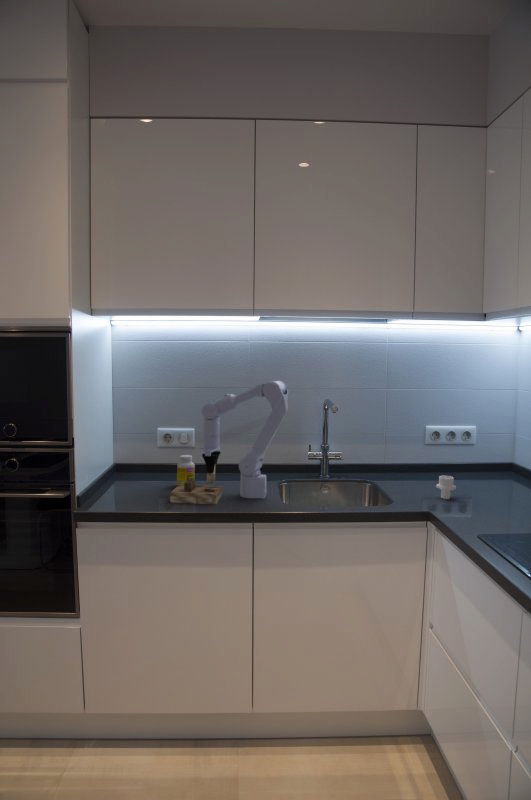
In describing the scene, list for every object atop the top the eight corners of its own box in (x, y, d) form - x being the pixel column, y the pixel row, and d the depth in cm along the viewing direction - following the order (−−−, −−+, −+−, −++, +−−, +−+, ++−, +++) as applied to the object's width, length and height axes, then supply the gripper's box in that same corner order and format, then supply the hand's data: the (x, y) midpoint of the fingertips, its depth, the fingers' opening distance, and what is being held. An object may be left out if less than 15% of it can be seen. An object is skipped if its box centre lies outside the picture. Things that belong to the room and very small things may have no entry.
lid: (221, 490, 196) (221, 479, 195) (216, 497, 187) (217, 485, 186) (177, 488, 197) (177, 477, 197) (170, 495, 188) (171, 483, 188)
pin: (215, 482, 204) (216, 463, 203) (214, 483, 201) (214, 464, 200) (207, 481, 204) (208, 463, 204) (206, 483, 201) (206, 464, 201)
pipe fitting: (434, 495, 208) (435, 474, 208) (453, 496, 207) (454, 475, 207) (436, 499, 202) (437, 478, 202) (456, 500, 201) (458, 479, 200)
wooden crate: (221, 498, 197) (222, 486, 197) (216, 507, 186) (216, 494, 186) (178, 496, 198) (178, 484, 198) (170, 504, 188) (170, 492, 187)
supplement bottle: (186, 492, 205) (187, 458, 204) (173, 489, 209) (173, 456, 208) (198, 488, 211) (198, 455, 210) (184, 486, 214) (185, 453, 213)
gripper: (205, 432, 209) (204, 467, 210) (196, 438, 194) (196, 475, 195) (223, 432, 208) (222, 468, 209) (216, 438, 194) (215, 476, 195)
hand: (211, 471), depth 202 cm, fingers closed on pin, 3 cm apart
